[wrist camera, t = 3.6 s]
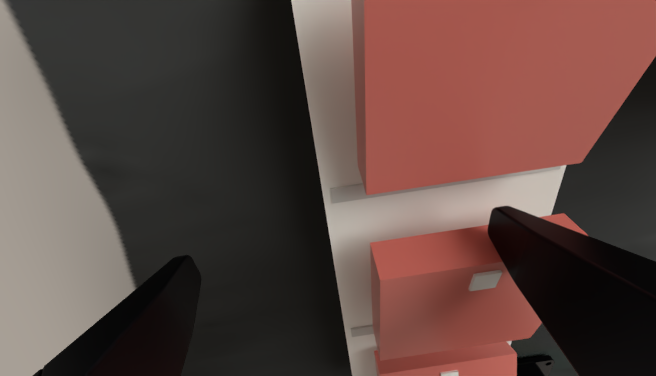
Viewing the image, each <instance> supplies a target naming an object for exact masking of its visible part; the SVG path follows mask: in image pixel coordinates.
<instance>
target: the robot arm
mask: <svg viewBox="0 0 656 376" xmlns="http://www.w3.org/2000/svg"><path fill="white" fill-rule="evenodd" d="M488 235H489V238H490V240H491V241H492V243H493V245H494V247H495V249H496V251H497V252H498V254H499V256H500V258H501V260H502V261H503V263H504V265H505V267H506V269H507V271H508V272H509V274H510V276H511V277H512V279H513V281H514V282H515V284H516V285H517V287H518V288H519V290H520V291H521V293H522V294H523V296H524V297H525V299H526V300H527V301H528V303H529V304H530V306H531V307H532V309H533V310H534V312H535V313H536V314H537V316H538V317H539V319H540V320H541V322H542V323H543V325H544V326H545V327H546V329H547V330H548V332H549V333H550V335H551V336H552V337H553V339H554V340H555V342H556V343H557V345H558V346H559V348H560V349H561V350H562V352H563V353H564V355H565V356H566V358H567V359H568V361H569V362H570V363H571V365H572V366H573V368H574V369H575V371H576V372H577V374H578V375H579V376H656V262H655V261H652V260H650V259H647V258H645V257H642V256H639V255H637V254H634V253H631V252H629V251H626V250H624V249H621V248H618V247H616V246H613V245H610V244H608V243H605V242H603V241H600V240H597V239H595V238H592V237H589V236H587V235H584V234H582V233H579V232H576V231H574V230H571V229H568V228H566V227H563V226H560V225H558V224H555V223H553V222H550V221H547V220H545V219H542V218H540V217H537V216H534V215H532V214H529V213H526V212H524V211H521V210H519V209H516V208H513V207H511V206H500V207H495V208H493V209H492V211H491V215H490V219H489V224H488ZM200 285H201V275H200V272H199V270H198V269H197V267H196V265H195V263H194V261H193V259H192V257H191V256H189V255H184V256H178V257H175V258H173V259H172V260H170V261H169V262H168V263H167V264H166V265H164V266H163V267H162V268H161V269H160V270H159V271H157V272H156V273H155V274H154V275H153V276H151V277H150V278H149V279H148V280H147V281H145V282H144V283H143V284H142V285H141V286H139V287H138V288H137V289H136V290H135V291H133V292H132V293H131V294H130V295H129V296H128V297H127V298H125V299H124V300H123V301H122V302H120V303H119V304H118V305H117V306H116V307H114V308H113V309H112V310H111V311H110V312H109V313H107V314H106V315H105V316H104V317H102V318H101V319H100V320H99V321H98V322H96V323H95V324H94V325H93V326H92V327H90V328H89V329H88V330H87V331H86V332H85V333H83V334H82V335H81V336H80V337H79V338H77V339H76V340H75V341H74V342H73V343H71V344H70V345H69V346H68V347H67V348H66V349H64V350H63V351H62V352H61V353H59V354H58V355H57V356H56V357H55V358H53V359H52V360H51V361H50V362H49V363H47V364H46V365H45V366H44V368H43V369H41V370H39V371H38V372H37V373H35V374H34V375H33V376H181V372H182V368H183V365H184V361H185V358H186V354H187V351H188V347H189V343H190V340H191V336H192V332H193V327H194V322H195V315H196V309H197V303H198V297H199V291H200ZM553 365H554V360H553V359H552V358H551V356H549V355H547V356H540V357H534V358H527V359H520V360H517V376H549V374H550V371H551V369H552V367H553Z"/></svg>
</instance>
